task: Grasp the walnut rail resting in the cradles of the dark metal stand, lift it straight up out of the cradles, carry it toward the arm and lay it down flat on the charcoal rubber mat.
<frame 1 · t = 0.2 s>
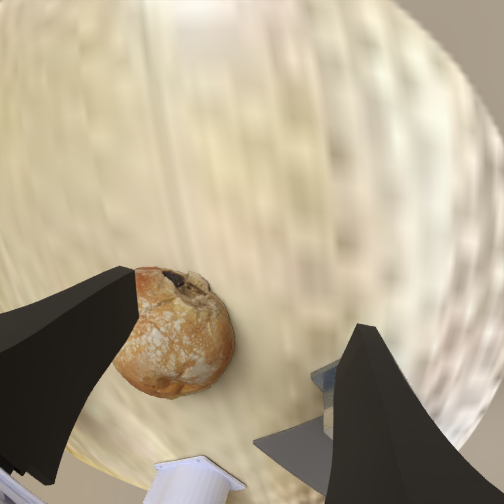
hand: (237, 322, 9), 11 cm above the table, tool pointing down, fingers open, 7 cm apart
mat: (333, 468, 26), on the table
bread roll: (176, 324, 23), on the table
stand: (388, 414, 22), on the table
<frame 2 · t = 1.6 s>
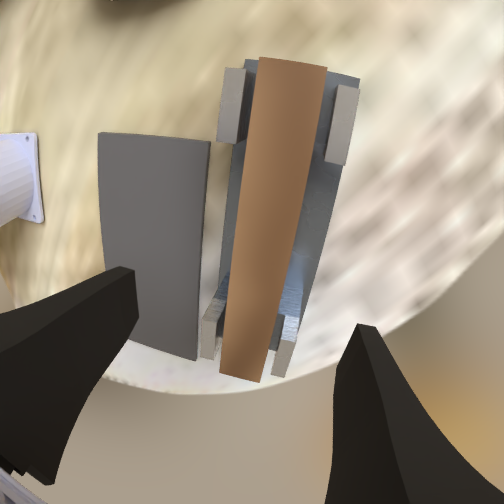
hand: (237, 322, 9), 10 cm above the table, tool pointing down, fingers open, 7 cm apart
mat: (149, 260, 22), on the table
rail: (269, 236, 15), point 3 cm above the table, touching stand
stand: (278, 212, 18), on the table
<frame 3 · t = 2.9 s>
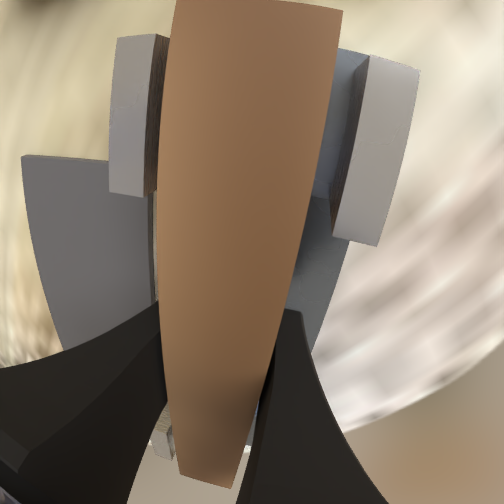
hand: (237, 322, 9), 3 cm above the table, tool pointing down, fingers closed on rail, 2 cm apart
mat: (97, 317, 16), on the table
rail: (234, 331, 9), point 3 cm above the table, touching gripper, stand
stand: (256, 272, 12), on the table
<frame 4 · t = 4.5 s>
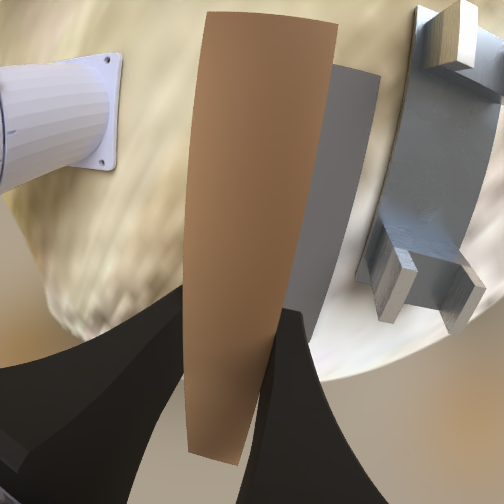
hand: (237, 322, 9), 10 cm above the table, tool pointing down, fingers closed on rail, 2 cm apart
mat: (278, 213, 18), on the table
rail: (244, 302, 10), point 9 cm above the table, touching gripper
stand: (440, 159, 14), on the table
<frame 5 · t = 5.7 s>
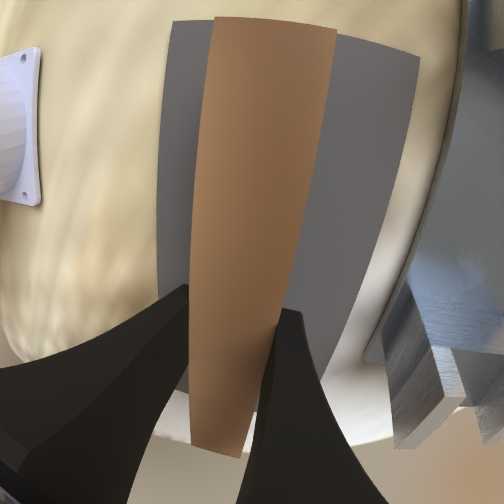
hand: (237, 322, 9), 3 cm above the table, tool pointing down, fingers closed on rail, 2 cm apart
mat: (255, 272, 12), on the table
rail: (247, 294, 11), point 2 cm above the table, touching gripper
stand: (499, 194, 8), on the table
when the fingers open (2 cm above the table, at t = 6.3 s): rail stays where it is, resting on mat.
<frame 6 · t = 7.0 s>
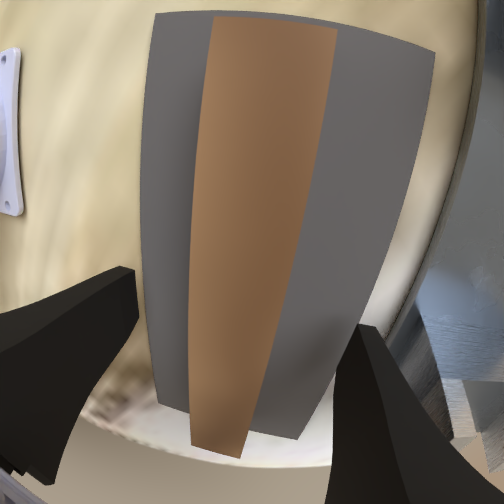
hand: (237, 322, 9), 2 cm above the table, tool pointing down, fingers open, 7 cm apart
mat: (248, 292, 11), on the table
rail: (247, 295, 10), resting on mat
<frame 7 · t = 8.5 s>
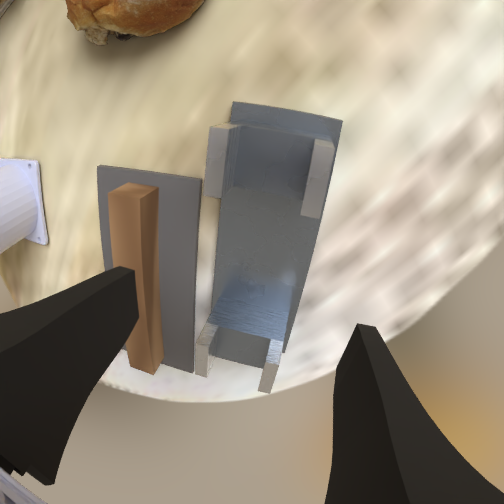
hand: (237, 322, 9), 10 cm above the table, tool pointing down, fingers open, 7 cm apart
mat: (148, 283, 23), on the table
rail: (146, 284, 23), resting on mat
stand: (265, 244, 20), on the table
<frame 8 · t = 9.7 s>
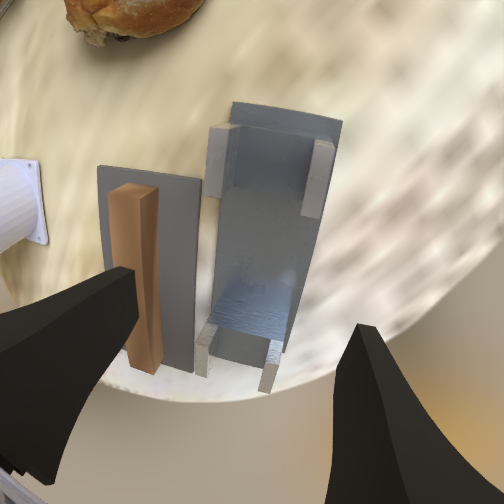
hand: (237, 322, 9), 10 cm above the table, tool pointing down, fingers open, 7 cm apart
mat: (148, 283, 23), on the table
rail: (146, 284, 23), resting on mat
stand: (265, 244, 20), on the table
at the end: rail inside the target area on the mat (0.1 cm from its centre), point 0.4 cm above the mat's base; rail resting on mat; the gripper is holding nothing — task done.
